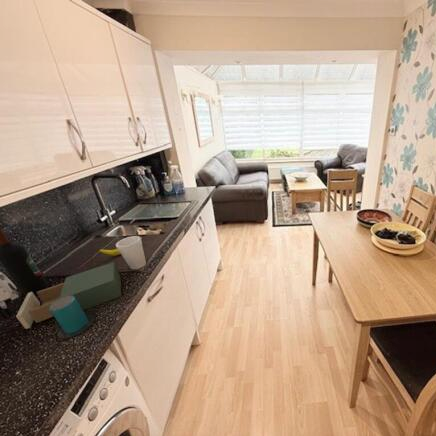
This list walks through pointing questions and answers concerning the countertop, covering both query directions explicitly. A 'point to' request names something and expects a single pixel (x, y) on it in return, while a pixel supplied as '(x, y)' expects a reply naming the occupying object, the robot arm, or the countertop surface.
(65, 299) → the can
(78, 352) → the countertop surface
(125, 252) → the foam cup
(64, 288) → the cabinet
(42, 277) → the wine bottle
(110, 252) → the banana
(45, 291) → the drawer
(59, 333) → the coaster
